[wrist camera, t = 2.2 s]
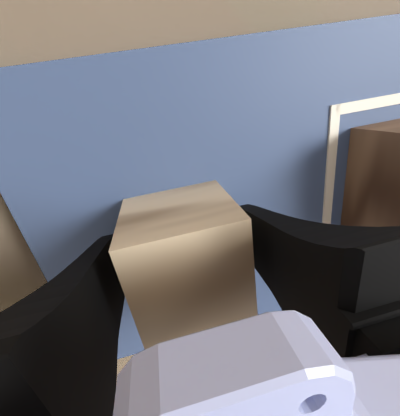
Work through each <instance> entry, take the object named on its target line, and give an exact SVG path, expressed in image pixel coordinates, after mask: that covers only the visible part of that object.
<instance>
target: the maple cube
mask: <svg viewBox="0 0 400 416" xmlns="http://www.w3.org/2000/svg"><path fill="white" fill-rule="evenodd" d="M109 254H110V257H111V260H112V263H113V265H114V268H115V271H116V273H117V276H118V279H119V281H120V284H121V287H122V290H123V292H124V295H125V298H126V300H127V303H128V306H129V308H130V311H131V314H132V317H133V319H134V322H135V325H136V327H137V330H138V333H139V335H140V338H141V341H142V344H143V346H144V349H147V348H149V347H151V346H153V345H155V344H157V343H160V342H164V341H167V340H171V339H174V338H178V337H181V336H185V335H188V334H192V333H195V332H199V331H202V330H206V329H209V328H213V327H217V326H220V325H224V324H227V323H231V322H234V321H238V320H241V319H245V318H248V317H252V316H255V315H258V312H257V297H256V282H255V267H254V253H253V238H252V223H251V218H250V217H249V216H248V215H247V214H246V213H245V211H244V210H243V209H242V208H241V207H240V206H239V205H238V204H237V203H236V202H235V201H234V199H233V198H232V197H231V196H230V195H229V194H228V193H227V192H226V191H225V190H224V189H223V188H222V186H221V185H220V184H219V183H218V182H217V181H216V180H214V181H209V182H204V183H199V184H194V185H189V186H185V187H180V188H175V189H170V190H165V191H161V192H156V193H151V194H146V195H141V196H136V197H132V198H127V199H123V202H122V205H121V209H120V212H119V216H118V220H117V223H116V227H115V230H114V234H113V237H112V241H111V245H110V248H109Z"/></svg>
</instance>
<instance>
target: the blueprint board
mask: <svg viewBox="0 0 400 416" xmlns="http://www.w3.org/2000/svg"><path fill="white" fill-rule="evenodd" d="M394 119H400V14H394V15H387V16H380V17H372V18H365V19H357V20H350V21H342V22H335V23H328V24H320V25H313V26H305V27H298V28H290V29H283V30H275V31H268V32H261V33H253V34H246V35H238V36H231V37H223V38H216V39H209V40H201V41H194V42H186V43H179V44H171V45H164V46H157V47H149V48H142V49H134V50H127V51H119V52H112V53H104V54H97V55H90V56H82V57H75V58H67V59H60V60H52V61H45V62H38V63H30V64H23V65H15V66H8V67H0V193H1V195H2V197H3V199H4V201H5V203H6V205H7V206H8V208H9V210H10V212H11V214H12V216H13V218H14V220H15V222H16V223H17V225H18V227H19V229H20V231H21V233H22V235H23V237H24V238H25V240H26V242H27V244H28V246H29V248H30V250H31V252H32V254H33V255H34V257H35V259H36V261H37V263H38V265H39V267H40V269H41V271H42V272H43V274H44V276H45V278H46V280H47V282H49V281H50V280H51V279H53V278H54V277H55V276H57V275H58V274H59V273H60V272H61V271H63V270H64V269H65V268H66V267H67V266H68V265H70V264H71V263H72V262H73V261H74V260H76V259H77V258H78V257H79V256H80V255H81V254H82V253H83V252H84V251H85V250H86V249H87V248H89V247H90V246H91V245H92V244H93V243H94V242H95V241H96V240H97V239H99V238H100V237H102V236H106V235H111V234H114V230H115V227H116V223H117V220H118V216H119V212H120V209H121V205H122V202H123V199H127V198H132V197H136V196H141V195H146V194H151V193H156V192H161V191H165V190H170V189H175V188H180V187H185V186H189V185H194V184H199V183H204V182H209V181H214V180H216V181H217V182H218V183H219V184H220V185H221V186H222V188H223V189H224V190H225V191H226V192H227V193H228V194H229V195H230V196H231V197H232V198H233V199H234V201H235V202H236V203H237V204H238V205H239V206H241V205H245V204H251V205H255V206H258V207H261V208H264V209H267V210H270V211H273V212H277V213H280V214H283V215H287V216H291V217H294V218H298V219H303V220H308V221H313V222H319V223H326V224H335V225H340V224H341V214H342V205H343V196H344V186H345V177H346V168H347V159H348V149H349V140H350V131H351V128H353V127H358V126H364V125H369V124H374V123H379V122H384V121H389V120H394ZM255 282H256V297H257V312H258V315H259V314H263V313H266V312H272V311H282V309H281V308H280V306H279V304H278V302H277V300H276V298H275V297H274V295H273V294H272V292H271V290H270V289H269V287H268V286H267V285H266V283H265V282H264V280H263V279H262V278H261V276H260V275H259V273H258V272H257V270H256V269H255ZM143 350H145V349H144V346H143V344H142V341H141V338H140V335H139V333H138V330H137V327H136V325H135V322H134V319H133V317H132V314H131V311H130V308H129V306H128V303H127V300H126V298H125V300H124V306H123V312H122V318H121V324H120V330H119V338H118V354H117V359H119V358H123V357H126V356H130V355H133V354H137V353H139V352H141V351H143Z"/></svg>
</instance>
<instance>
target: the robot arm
mask: <svg viewBox="0 0 400 416" xmlns="http://www.w3.org/2000/svg"><path fill="white" fill-rule="evenodd" d="M240 207H241V208H242V209H243V210H244V211H245V213H246V214H247V215H248V216H249V217H250V218H251V223H252V238H253V253H254V267H255V269H256V270H257V272H258V273H259V275H260V276H261V278H262V279H263V280H264V282H265V283H266V285H267V286H268V287H269V289H270V290H271V292H272V294H273V295H274V297H275V298H276V300H277V302H278V304H279V306H280V308H281V309H282V311H272V312H266V313H263V314H259V315H255V316H252V317H248V318H245V319H241V320H238V321H234V322H231V323H227V324H224V325H220V326H217V327H213V328H209V329H206V330H202V331H199V332H195V333H192V334H188V335H185V336H181V337H178V338H174V339H171V340H167V341H164V342H160V343H157V344H155V345H153V346H151V347H149V348H147V349H145V350H143V351H141V352H139V353H137V354H135V355H134V356H132V358H131V359H130V360H129V361H128V363H127V364H126V365H125V366H124V368H123V369H122V370H121V371H120V373H119V374H118V376H117V354H118V338H119V330H120V324H121V318H122V312H123V306H124V300H125V295H124V292H123V290H122V287H121V284H120V281H119V279H118V276H117V273H116V271H115V268H114V265H113V263H112V260H111V257H110V254H109V248H110V245H111V241H112V237H113V234H111V235H106V236H102V237H100V238H99V239H97V240H96V241H95V242H94V243H93V244H92V245H91V246H90V247H89V248H87V249H86V250H85V251H84V252H83V253H82V254H81V255H80V256H79V257H78V258H77V259H76V260H74V261H73V262H72V263H71V264H70V265H68V266H67V267H66V268H65V269H64V270H63V271H61V272H60V273H59V274H58V275H57V276H55V277H54V278H53V279H51V280H50V281H49V282H47V283H46V284H44V285H43V286H42V287H40V288H39V289H37V290H36V291H34V292H33V293H31V294H30V295H28V296H27V297H25V298H23V299H22V300H20V301H18V302H17V303H15V304H14V305H12V306H10V307H9V308H7V309H5V310H4V311H2V312H0V416H400V226H386V227H367V226H345V225H335V224H326V223H319V222H313V221H308V220H303V219H298V218H294V217H291V216H287V215H283V214H280V213H277V212H273V211H270V210H267V209H264V208H261V207H258V206H255V205H251V204H245V205H241V206H240ZM116 379H117V384H116Z"/></svg>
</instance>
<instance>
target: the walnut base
mask: <svg viewBox="0 0 400 416" xmlns="http://www.w3.org/2000/svg"><path fill="white" fill-rule="evenodd" d="M340 225H345V226H367V227H386V226H400V119H394V120H389V121H384V122H379V123H374V124H369V125H364V126H358V127H353V128H351V131H350V140H349V149H348V159H347V168H346V177H345V186H344V196H343V205H342V214H341V224H340Z"/></svg>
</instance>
